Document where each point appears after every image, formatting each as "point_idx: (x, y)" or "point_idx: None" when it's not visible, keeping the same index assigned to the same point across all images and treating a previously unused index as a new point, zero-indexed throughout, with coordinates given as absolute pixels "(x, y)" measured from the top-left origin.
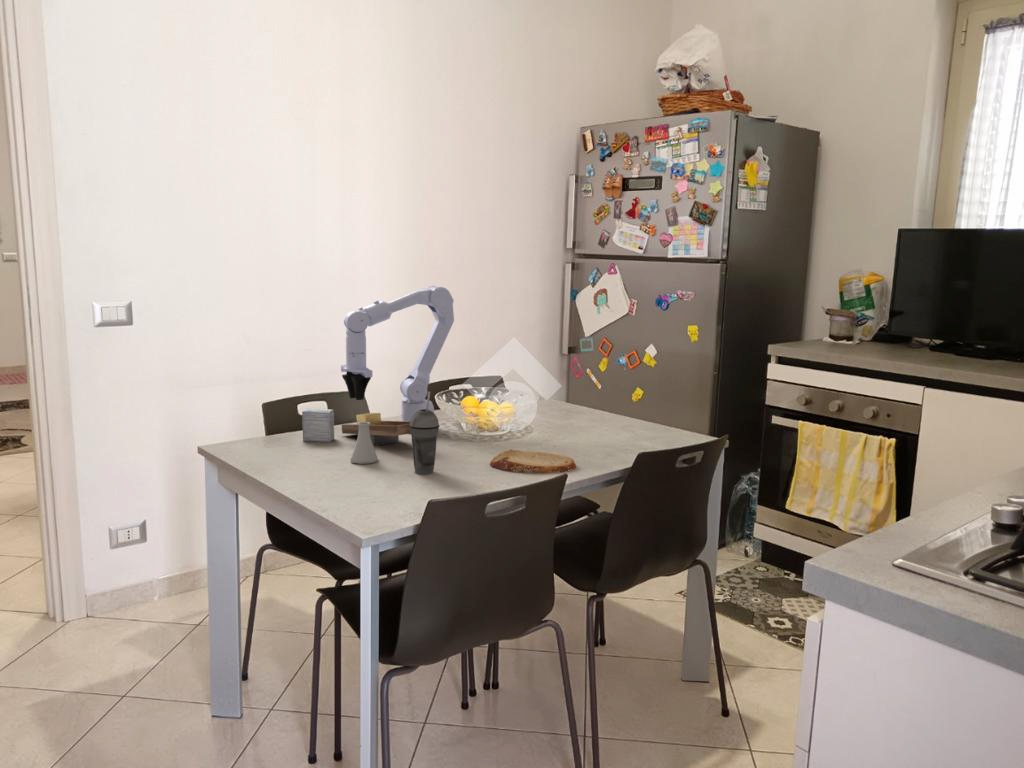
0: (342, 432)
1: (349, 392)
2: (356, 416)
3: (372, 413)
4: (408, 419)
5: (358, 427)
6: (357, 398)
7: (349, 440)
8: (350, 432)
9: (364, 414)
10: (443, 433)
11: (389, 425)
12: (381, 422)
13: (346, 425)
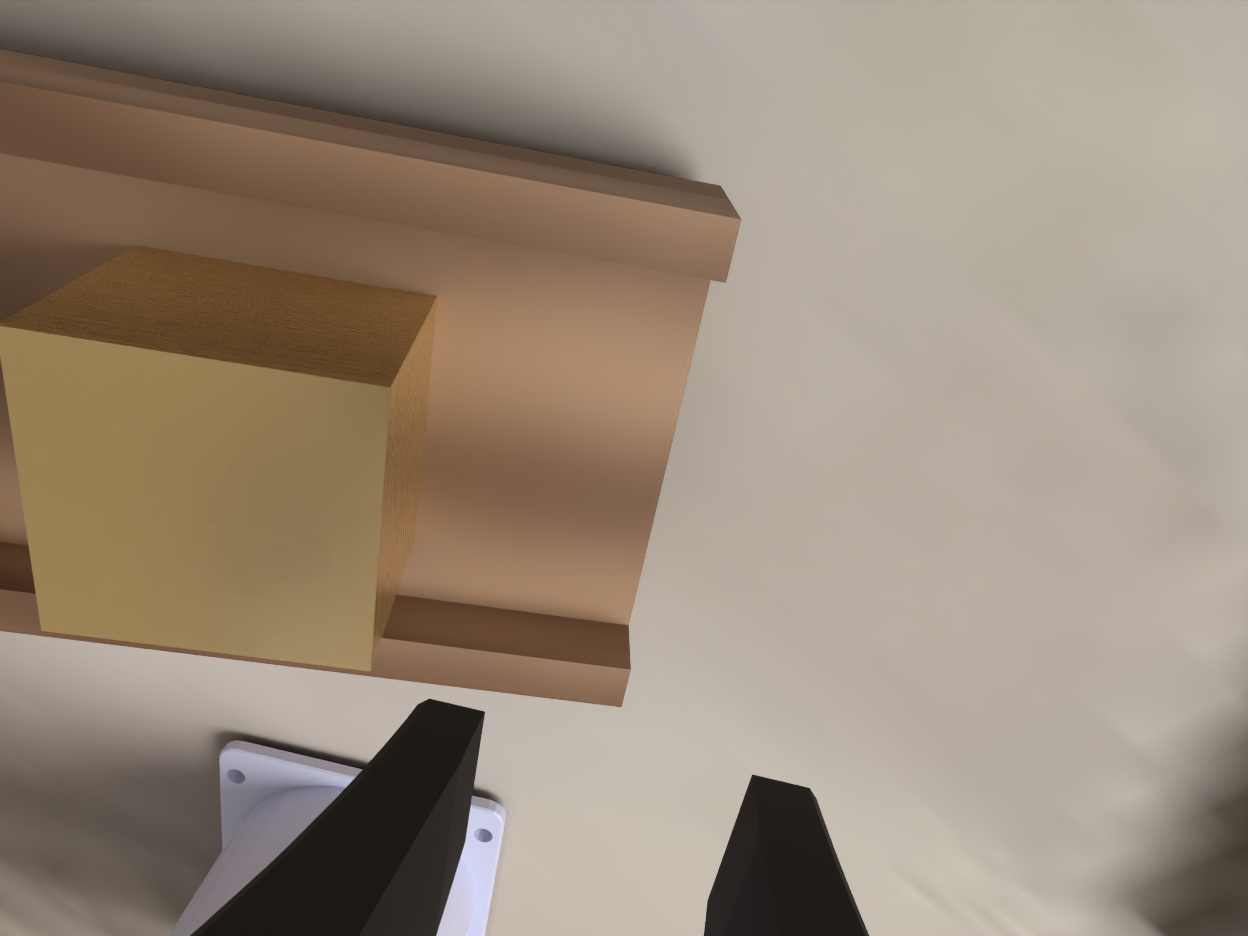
0: (714, 188)
1: (794, 907)
2: (392, 371)
3: (163, 569)
4: (233, 895)
5: (106, 91)
6: (401, 730)
7: (399, 34)
8: (448, 139)
9: (169, 419)
10: (89, 890)
11: None
12: None
13: (553, 180)
